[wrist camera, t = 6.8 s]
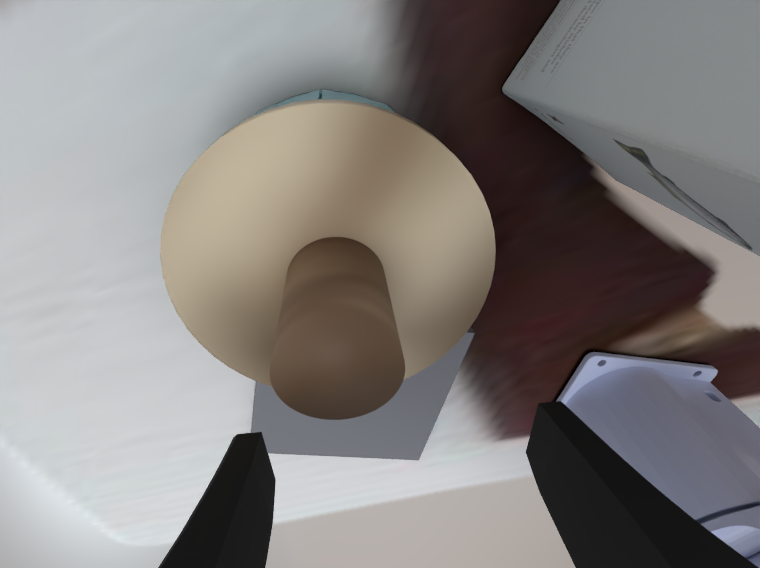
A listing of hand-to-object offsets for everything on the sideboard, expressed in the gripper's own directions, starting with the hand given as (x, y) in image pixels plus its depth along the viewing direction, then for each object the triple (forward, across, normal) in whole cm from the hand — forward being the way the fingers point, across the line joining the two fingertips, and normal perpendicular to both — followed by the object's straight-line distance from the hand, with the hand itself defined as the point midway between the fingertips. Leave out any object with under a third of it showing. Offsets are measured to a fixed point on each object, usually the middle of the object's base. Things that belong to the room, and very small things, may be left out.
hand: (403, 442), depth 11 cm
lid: (+5, +2, -3) cm, 6 cm away
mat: (+10, +1, +8) cm, 13 cm away
